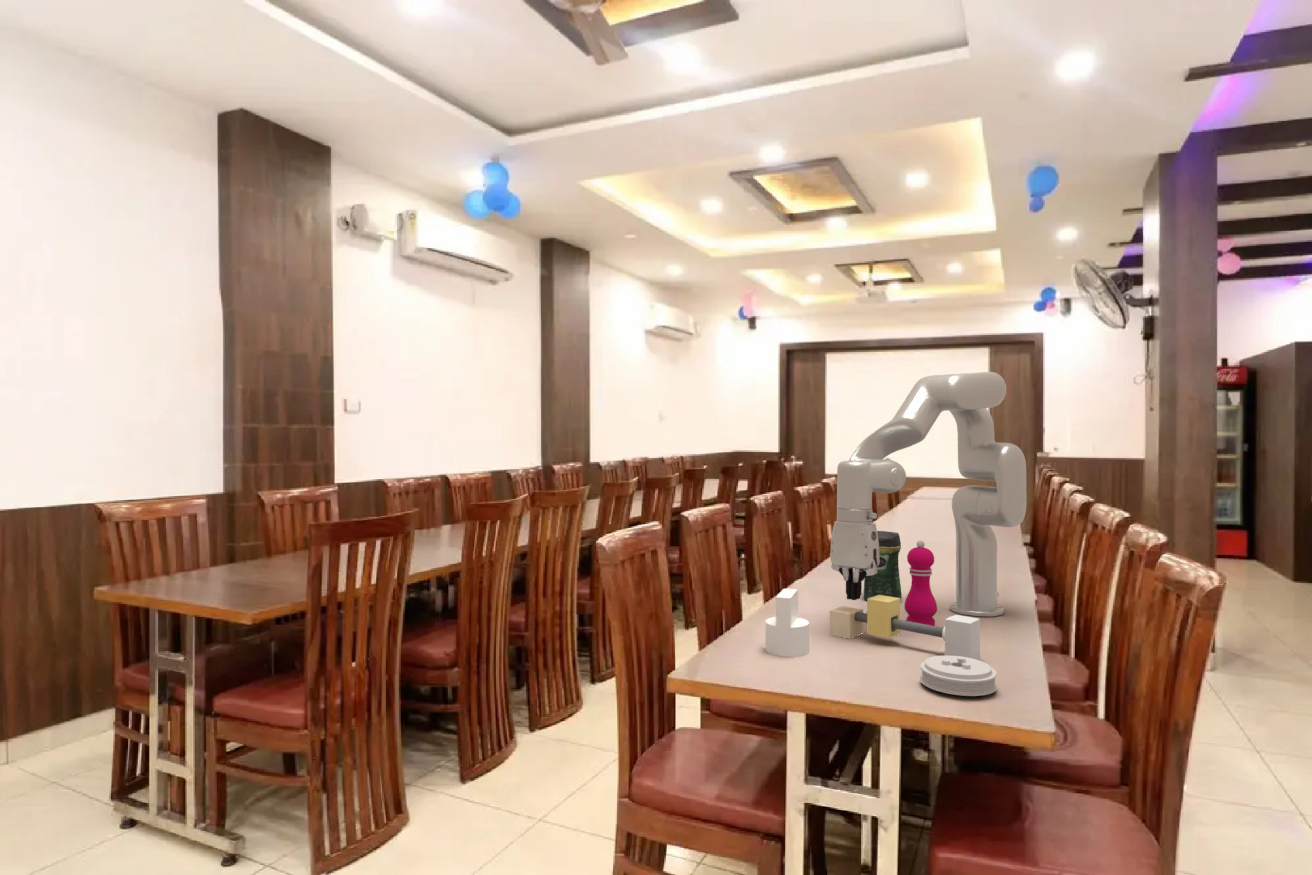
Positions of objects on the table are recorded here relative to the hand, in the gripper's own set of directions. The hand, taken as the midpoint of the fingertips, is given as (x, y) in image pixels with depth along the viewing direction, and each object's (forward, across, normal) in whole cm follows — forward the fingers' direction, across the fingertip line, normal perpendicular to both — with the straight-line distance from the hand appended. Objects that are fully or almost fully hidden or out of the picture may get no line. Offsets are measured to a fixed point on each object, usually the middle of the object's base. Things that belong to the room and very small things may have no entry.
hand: (853, 598), depth 168 cm
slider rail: (+8, -11, 0) cm, 14 cm away
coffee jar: (+8, +12, -36) cm, 39 cm away
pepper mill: (+8, -7, -18) cm, 21 cm away
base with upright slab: (+9, +5, +19) cm, 21 cm away
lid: (+9, -30, +17) cm, 36 cm away
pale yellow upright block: (+7, -7, 0) cm, 10 cm away
